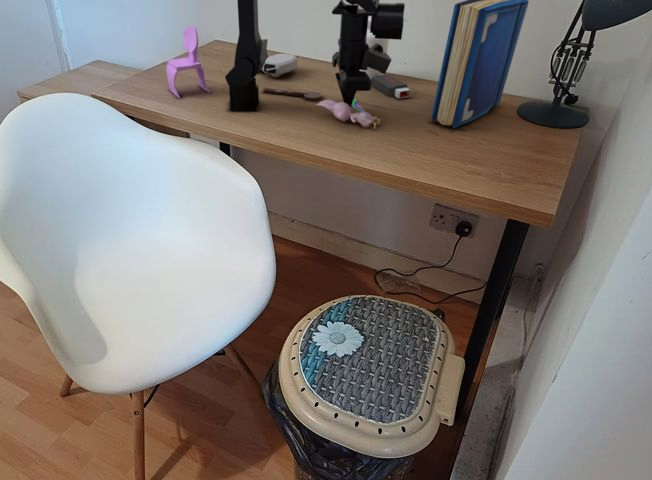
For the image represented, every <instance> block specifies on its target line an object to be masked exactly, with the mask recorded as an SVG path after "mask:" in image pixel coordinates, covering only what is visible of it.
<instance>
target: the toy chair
mask: <svg viewBox="0 0 652 480" xmlns="http://www.w3.org/2000/svg"><path fill="white" fill-rule="evenodd" d="M183 47H184V48H185V50H186V51H187V52H188V56H186V57H182V58H181V57H180V58H176V59H175V58H173V59H172V58H171V59H167V61H166V63H167V64H166V66H165V67H166V69H165V70H166V77H167V81H168V87H169V90H170V91H171V92H172V94H174V96H175V97H177V98H178V99H180V98H181V96H180V94H179V92H178V89H177V85H176V77H177V74H178V73H179V72H183V71H186V70H192V69H194V70H195V73H196V76H197V82H198V86H199V87H201V88H202V89H203V90H204V91H205V92H206V93H208V94H209V93H210V90H209V88H208V84H207V82H206V77H205V71H204V68H203V67H202V63H201V62H200V61H198V50H199V49H198V48H199V35H198V30H197V28H196V26H188V27H186V28H185V29H184V31H183Z"/></svg>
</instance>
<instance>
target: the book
mask: <svg viewBox="0 0 652 480" xmlns="http://www.w3.org/2000/svg"><path fill="white" fill-rule="evenodd" d="M528 6H529V0H464V1H460V2H457V3H455V4H454V6H453V11H452V14H451V15H452V16H451V19H450V25H449V30H448V35H447V39H446V43H445V49H444V54H443V59H442V62H441V63H442V64H441V69H440V73H439V78H438V81H437V87H436V93H435V97H434V102H433V107H432V112H431V116H430V119H431V121H432V122H435V121H437V122H438V123H439V124H441V125H442V126H451V127H452V129H456V128H459V127H462V126H463V125H466V124H469V123H470V122H473V121H475V120H477V119H479V118H480V117H483V116H484V115H486V114H488V113H489V112H490V111H491V110H492V109H495V108H496V107H498V106H499V105H500V104H501V100H502V96H503V92H504V90H505V87H506V86H505V85H506V83H507V79H508V77H509V72H510V69H511V65H512V62H513V58H514V54H515V51H516V47H517V44H518V40H519V38H520V34H521V31H522V27H523V23H524V20H525V16H526V14H527V9H528Z"/></svg>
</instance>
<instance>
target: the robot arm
mask: <svg viewBox="0 0 652 480" xmlns="http://www.w3.org/2000/svg"><path fill="white" fill-rule="evenodd" d="M344 1H345V2H346V3H345V2H344ZM258 3H259V1H258V0H237V15H238V16H237V19H238V39H237V43H236V48H235V54H234V55H235V56H234V64H233V65H234V66H233V67H231V69H230V70H229V71H228V72H227V74H225V76H224V78H225V81H226V83H227V85H228V92H229V93H228V94H229V109H228V110H229V111H231V112H237V111H238V112H239V111H240V112H242V111H244V112H245V111H247V112H249V111H252V112H253V111H258V107H259V105H260V93H259V92H260V89H259V88H260V87H259V84H257V78H256V77H257V75H258V74H259V73H260V71H262V70H261V68H262V67H263V66H264V64H265V61H266V59H267V58H268V55H269V54H268V39H267V38H265V39H262V37H261V34H260V29H259V4H258ZM405 6H406V4H405V2H396V3H389V2H388V3H387V2H386V3H385V2H380V0H339V2H338V4H337V5H335V6H334V7H333V8H332V10H331V14H332V15H338V16H339V15H340V26H339V28H340V29H339V31H340V32H339V38H338V39H337V46H338V51H336V52H335V53H333V55H332V57H331V65H332V68H336V67H337V68H338V72H335V74H334V75H335V78H336V82H337V85H338V88H339V92H340V94H341V98H342V101H343V103H346V104H348V105H349V106H350V107H351V108H352V102H353V100H354V99H355V97H356V93H357V92H370V91H371V90H372V85H371V83H372V81H371V79H370V77H369V75H368V74H367V73H366V72H363V71H360V70H367V69H368V67H369V68H372V69H374V70H377V71H380V73H382V74H387V71H388V69H389V67H390V65H391V62H392V59H391V57H390V55H389V54H388V53H387V54H386V53H385V52H384V53H383V47H382V45H380V44H377V43H376V44H375V45H373V46H372V47H370V48H369V45H368V44H367V43H366V39H367V27H368V17H371V16H372V17H371V27H370V33H373V35H375V38H378V39H389V40H398V41H401V40H402V39H403V30H404V23H405V18H404V15H405Z"/></svg>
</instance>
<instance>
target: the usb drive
mask: <svg viewBox="0 0 652 480" xmlns="http://www.w3.org/2000/svg"><path fill="white" fill-rule="evenodd" d="M371 81H372V83H371V87H373V88H374V89H376V90H378V91H379V92H381V93H383V94H385V95H386V96H388V97H392V98H397V99H398V100H400V99H405V98H410V97H411V89H410V88H408V84H406V83H405V82H403V81H401V80H399V79H398V78H396V77H394V76H392V75H391V74H389V73H385V74H384V75H377V76H373V77H372V78H371Z"/></svg>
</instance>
